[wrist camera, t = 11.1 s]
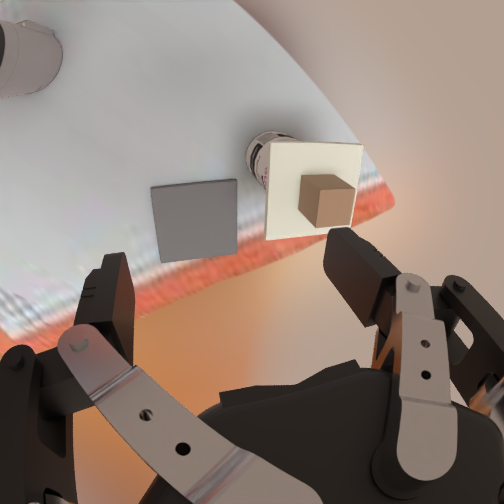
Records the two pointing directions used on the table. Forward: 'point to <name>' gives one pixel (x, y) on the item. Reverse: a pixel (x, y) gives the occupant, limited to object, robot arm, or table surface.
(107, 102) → the table surface
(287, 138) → the supplement can
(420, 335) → the robot arm
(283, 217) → the board
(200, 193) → the rubber mat
